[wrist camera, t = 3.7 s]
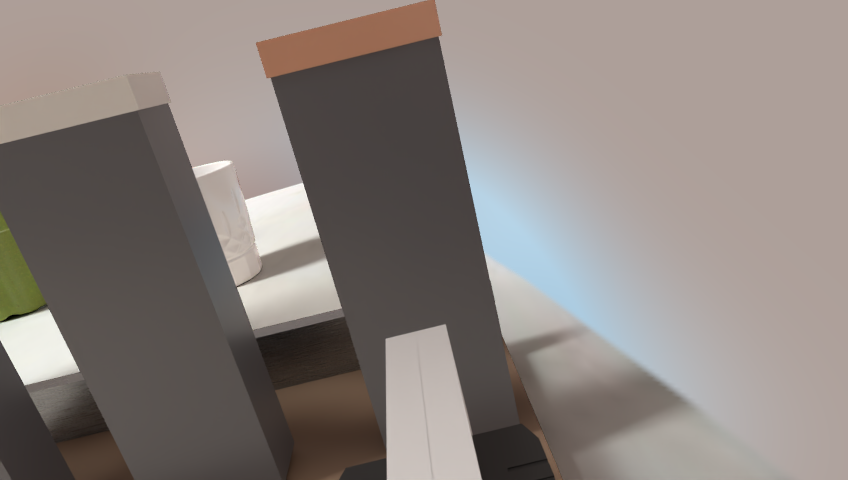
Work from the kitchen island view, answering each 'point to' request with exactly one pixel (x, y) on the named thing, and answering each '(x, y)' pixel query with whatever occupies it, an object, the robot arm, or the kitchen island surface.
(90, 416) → the key console
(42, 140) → the key middle
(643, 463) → the kitchen island surface
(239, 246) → the white cup
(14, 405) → the key
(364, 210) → the key
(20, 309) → the plant pot
